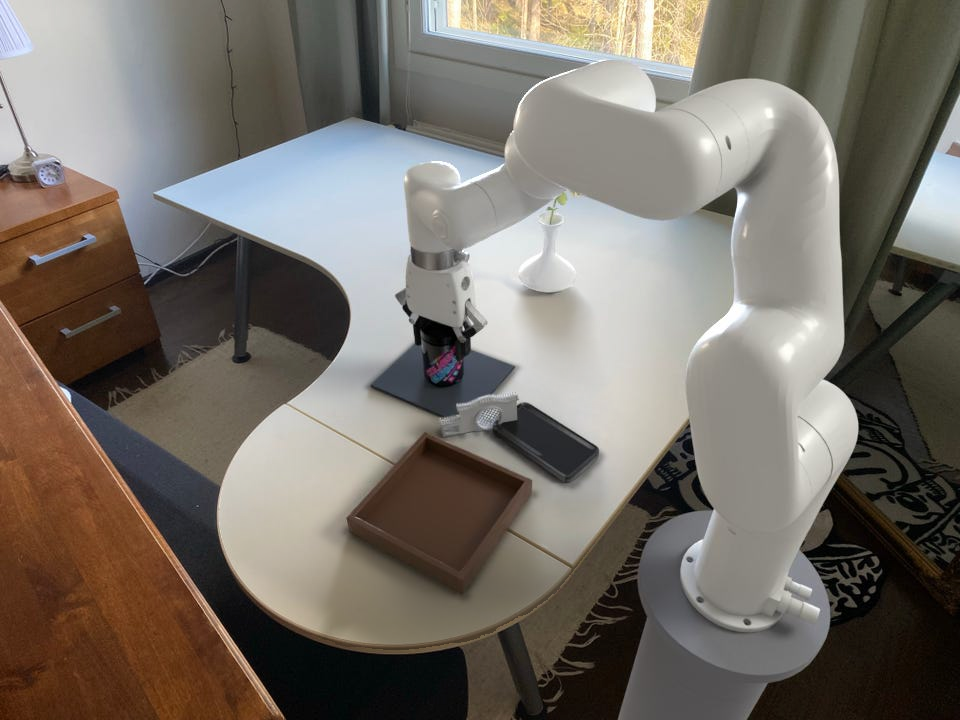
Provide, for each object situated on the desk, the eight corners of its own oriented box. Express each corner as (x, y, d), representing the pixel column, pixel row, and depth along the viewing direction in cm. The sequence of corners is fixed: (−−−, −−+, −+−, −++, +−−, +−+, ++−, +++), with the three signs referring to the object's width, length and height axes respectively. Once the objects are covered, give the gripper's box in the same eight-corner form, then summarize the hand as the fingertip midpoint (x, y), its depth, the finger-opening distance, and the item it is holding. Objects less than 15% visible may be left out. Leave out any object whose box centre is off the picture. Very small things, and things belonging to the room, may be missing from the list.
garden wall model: (442, 439, 99) (438, 409, 95) (439, 431, 100) (436, 401, 97) (519, 424, 101) (519, 394, 97) (516, 416, 102) (515, 386, 98)
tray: (531, 493, 91) (532, 479, 89) (463, 594, 79) (462, 580, 78) (425, 445, 98) (424, 431, 96) (348, 531, 86) (345, 517, 85)
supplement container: (417, 384, 108) (412, 333, 101) (432, 359, 113) (428, 308, 106) (456, 392, 106) (454, 341, 100) (470, 366, 111) (468, 316, 104)
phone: (524, 400, 104) (602, 449, 95) (523, 405, 104) (601, 454, 96) (489, 426, 99) (567, 480, 91) (489, 431, 100) (567, 485, 92)
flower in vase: (552, 305, 125) (561, 180, 109) (506, 283, 131) (508, 161, 115) (592, 277, 133) (606, 156, 117) (547, 257, 139) (554, 140, 123)
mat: (514, 367, 111) (515, 365, 111) (464, 426, 101) (464, 424, 101) (426, 334, 119) (426, 333, 118) (370, 386, 108) (370, 384, 108)
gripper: (502, 255, 94) (501, 353, 105) (402, 225, 101) (411, 320, 112) (474, 280, 89) (476, 380, 100) (371, 247, 96) (384, 344, 107)
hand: (442, 348), depth 106 cm, fingers open, 7 cm apart
